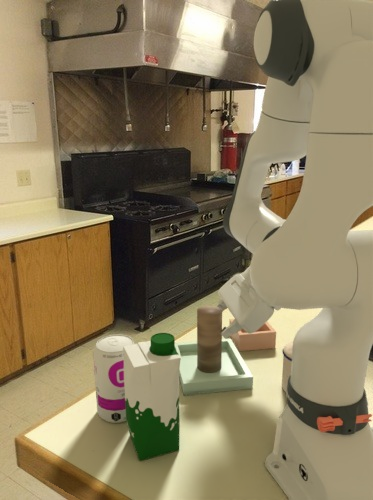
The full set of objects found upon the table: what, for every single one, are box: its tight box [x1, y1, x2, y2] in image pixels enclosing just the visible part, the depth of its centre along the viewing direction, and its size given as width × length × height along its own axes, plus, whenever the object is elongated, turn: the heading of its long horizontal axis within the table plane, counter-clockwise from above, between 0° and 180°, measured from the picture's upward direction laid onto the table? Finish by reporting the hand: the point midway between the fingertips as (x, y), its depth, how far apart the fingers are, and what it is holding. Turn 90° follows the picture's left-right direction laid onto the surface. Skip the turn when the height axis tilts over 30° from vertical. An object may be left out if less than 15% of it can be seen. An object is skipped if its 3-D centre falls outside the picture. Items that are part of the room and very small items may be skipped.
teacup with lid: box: [281, 341, 293, 393], centre depth 91 cm, size 12×9×12 cm
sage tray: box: [175, 338, 254, 396], centre depth 98 cm, size 18×15×3 cm
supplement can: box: [92, 333, 136, 424], centre depth 82 cm, size 8×8×15 cm
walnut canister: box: [196, 305, 223, 373], centre depth 97 cm, size 6×6×14 cm
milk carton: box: [123, 332, 181, 462], centre depth 73 cm, size 9×9×20 cm
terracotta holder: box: [228, 318, 277, 352], centre depth 112 cm, size 10×10×4 cm
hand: (217, 326), depth 96 cm, fingers open, 8 cm apart
